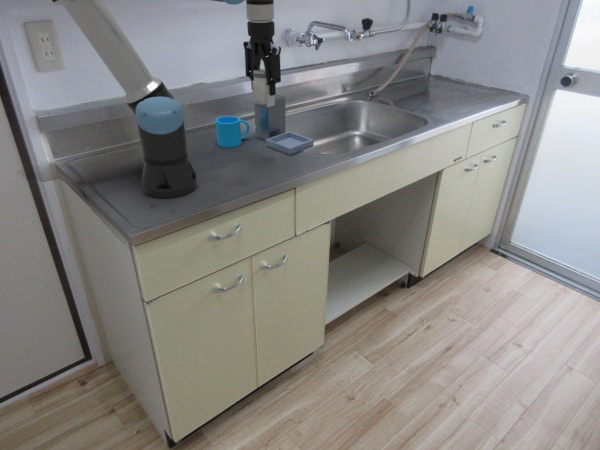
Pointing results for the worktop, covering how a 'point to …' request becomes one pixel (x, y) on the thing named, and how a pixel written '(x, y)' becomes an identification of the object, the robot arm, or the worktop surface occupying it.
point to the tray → (289, 143)
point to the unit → (270, 119)
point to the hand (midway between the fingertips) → (263, 103)
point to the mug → (229, 131)
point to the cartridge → (260, 87)
